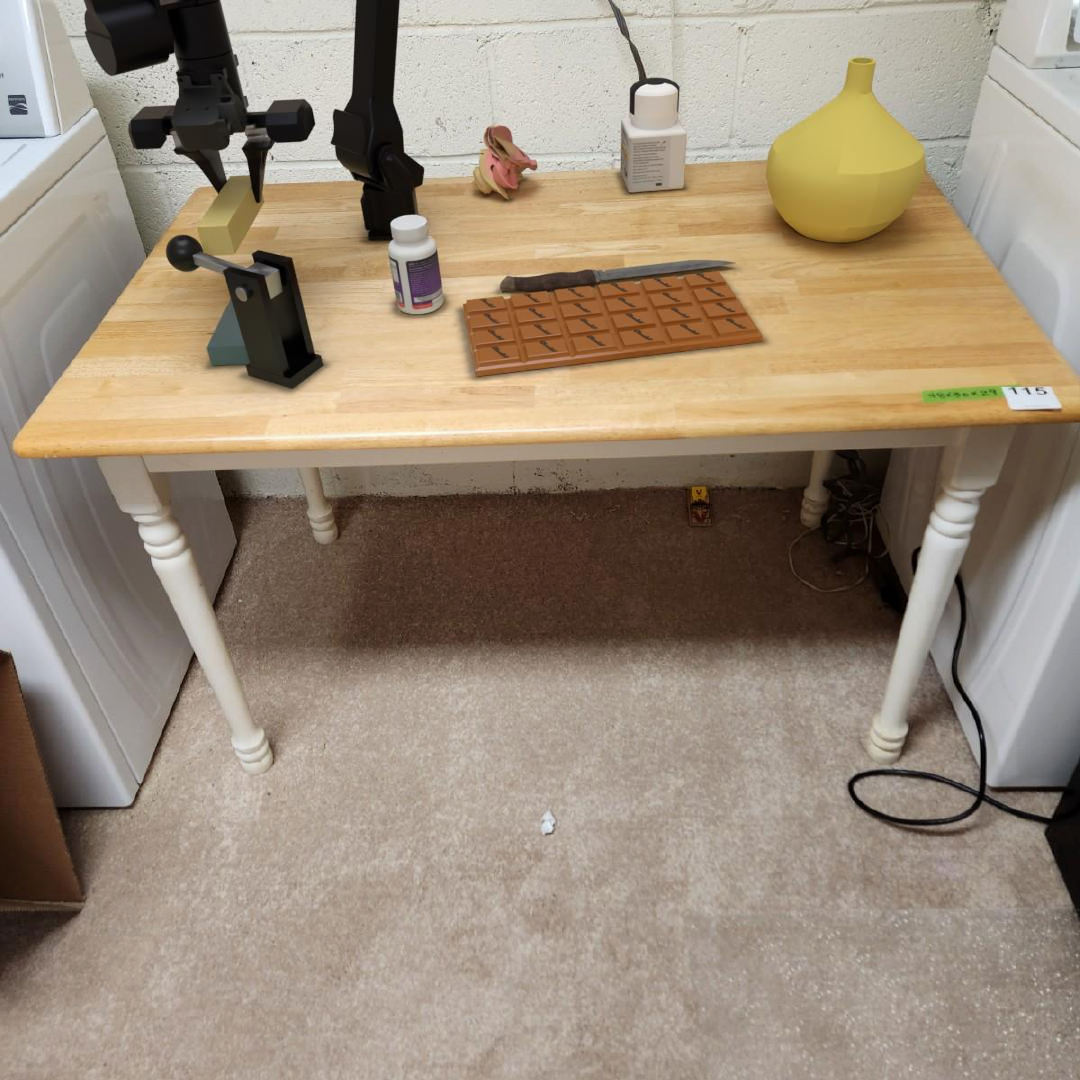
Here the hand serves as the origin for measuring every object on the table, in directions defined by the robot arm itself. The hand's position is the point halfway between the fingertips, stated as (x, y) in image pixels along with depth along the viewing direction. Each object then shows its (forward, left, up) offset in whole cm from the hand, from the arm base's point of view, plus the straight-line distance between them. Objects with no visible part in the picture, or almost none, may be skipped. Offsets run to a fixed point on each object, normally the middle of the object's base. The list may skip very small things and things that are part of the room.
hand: (243, 202), depth 105 cm
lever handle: (-2, +18, -1) cm, 18 cm away
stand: (-6, +20, -10) cm, 23 cm away
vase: (-71, -8, -10) cm, 72 cm away
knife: (-43, +3, -10) cm, 44 cm away
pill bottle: (-20, +7, -10) cm, 23 cm away
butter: (0, +4, -1) cm, 5 cm away
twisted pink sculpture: (-30, -26, -10) cm, 40 cm away
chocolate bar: (-40, +14, -10) cm, 44 cm away
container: (-50, -26, -10) cm, 57 cm away
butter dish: (-1, +11, -10) cm, 15 cm away
